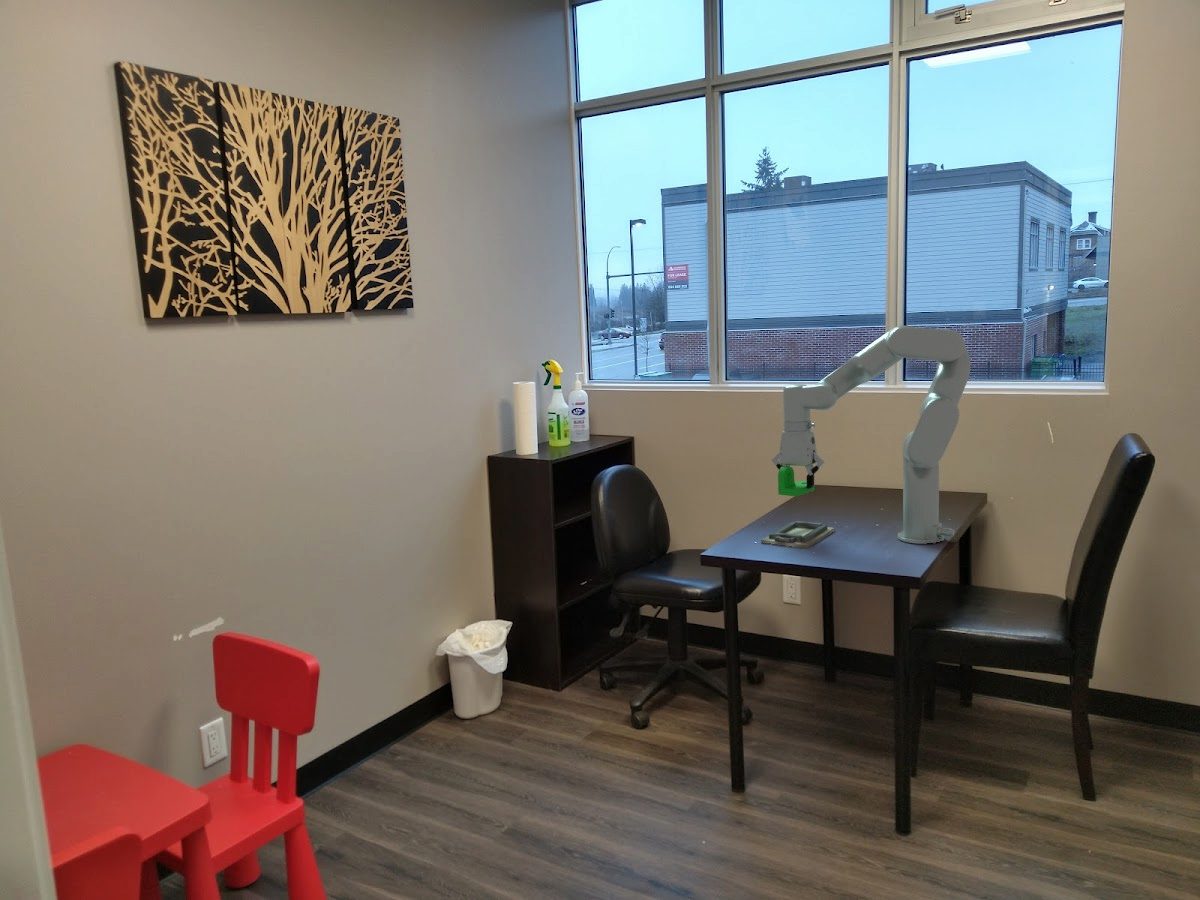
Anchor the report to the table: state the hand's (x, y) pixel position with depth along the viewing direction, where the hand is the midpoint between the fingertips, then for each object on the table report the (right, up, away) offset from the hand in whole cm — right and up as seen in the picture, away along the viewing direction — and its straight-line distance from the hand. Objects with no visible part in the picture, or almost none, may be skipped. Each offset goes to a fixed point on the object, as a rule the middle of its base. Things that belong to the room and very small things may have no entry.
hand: (798, 486), depth 254 cm
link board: (+1, -15, +2) cm, 15 cm away
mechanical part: (0, -2, 0) cm, 2 cm away
